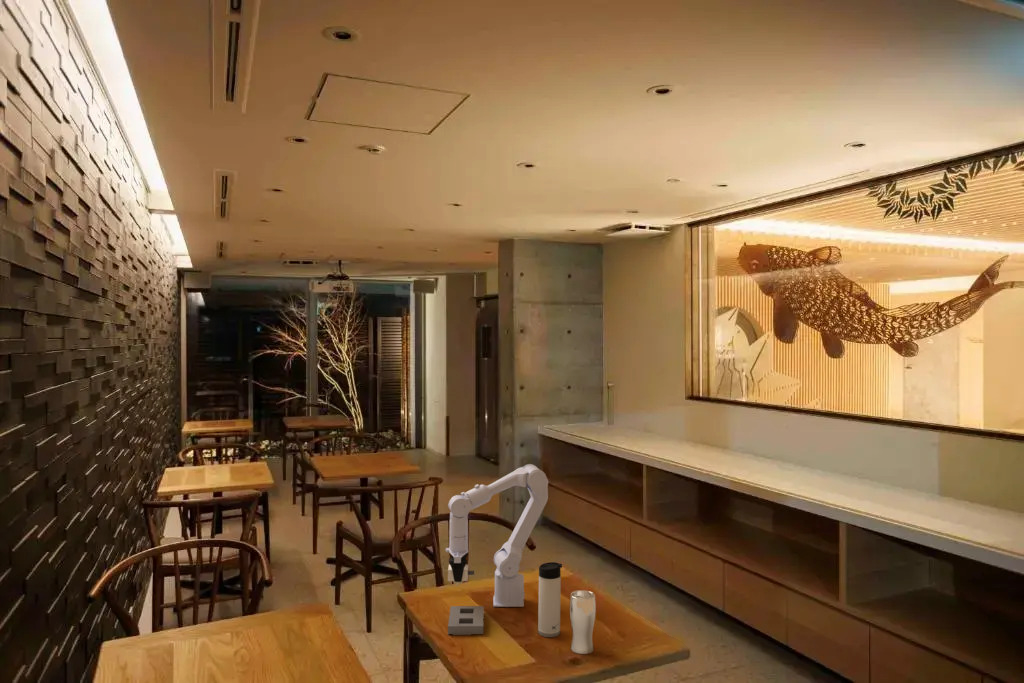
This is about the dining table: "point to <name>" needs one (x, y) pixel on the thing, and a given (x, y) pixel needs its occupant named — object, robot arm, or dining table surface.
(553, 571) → the travel mug
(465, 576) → the plug
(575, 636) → the beer glass
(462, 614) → the socket plate
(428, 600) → the dining table surface
